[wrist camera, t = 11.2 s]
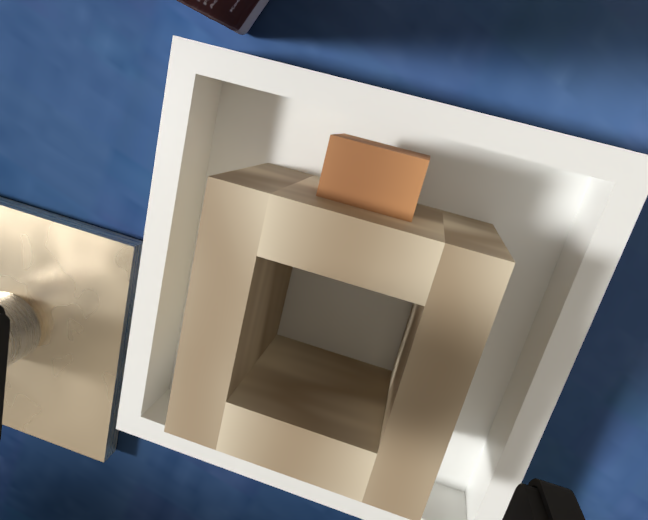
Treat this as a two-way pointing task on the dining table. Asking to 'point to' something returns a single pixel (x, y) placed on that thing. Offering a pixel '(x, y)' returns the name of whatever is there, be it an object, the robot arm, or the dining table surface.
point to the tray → (369, 306)
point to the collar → (322, 365)
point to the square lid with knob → (65, 326)
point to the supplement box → (229, 12)
